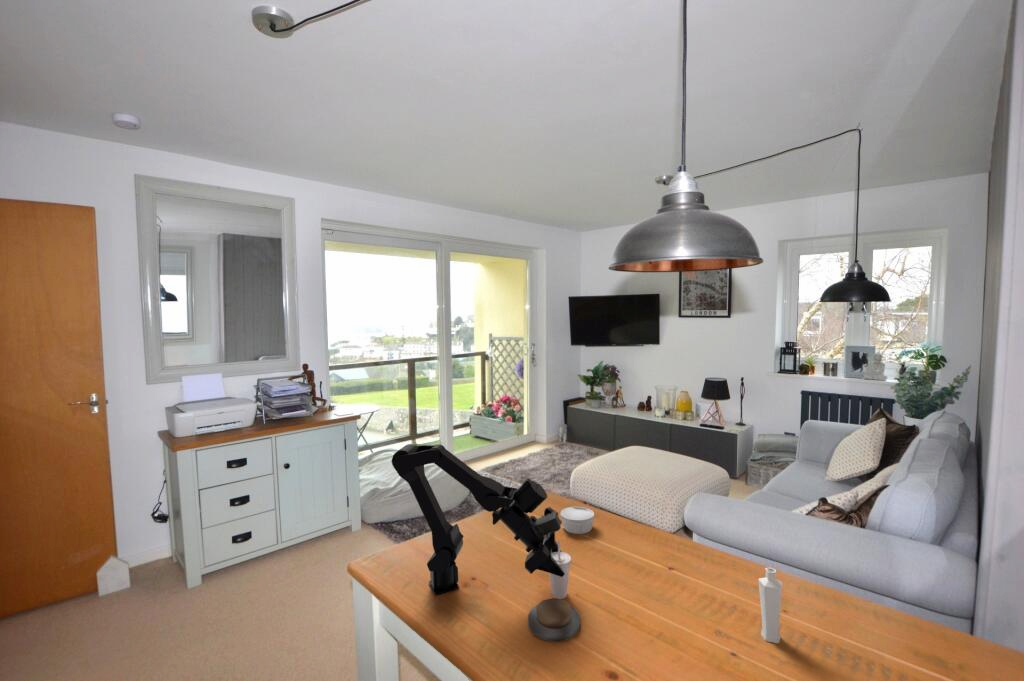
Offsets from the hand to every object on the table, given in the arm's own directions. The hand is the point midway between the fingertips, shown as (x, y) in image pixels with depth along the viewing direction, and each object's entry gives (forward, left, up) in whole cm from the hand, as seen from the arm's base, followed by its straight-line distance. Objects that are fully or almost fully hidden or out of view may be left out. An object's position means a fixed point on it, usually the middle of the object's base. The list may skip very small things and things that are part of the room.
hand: (564, 568), depth 119 cm
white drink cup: (-1, +1, -7) cm, 7 cm away
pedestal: (-8, -8, -7) cm, 13 cm away
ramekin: (+24, +30, -7) cm, 39 cm away
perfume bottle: (+31, -34, -7) cm, 47 cm away
